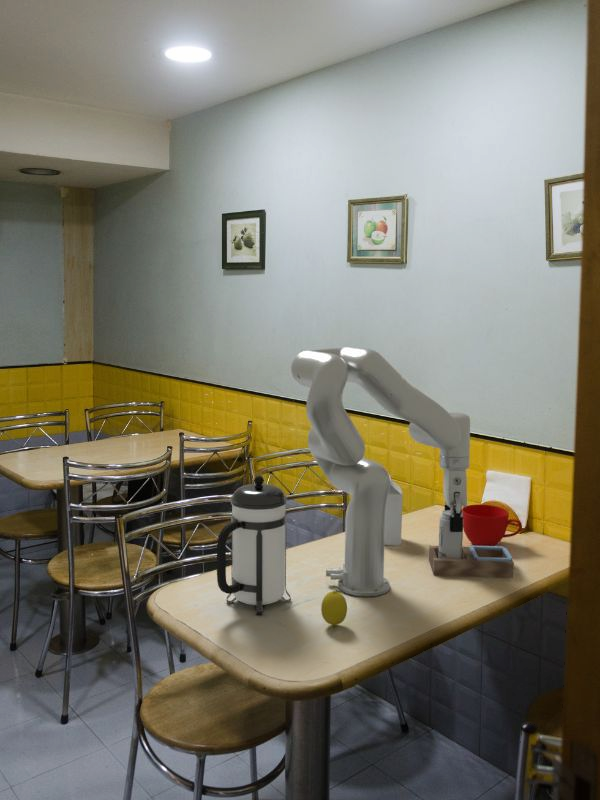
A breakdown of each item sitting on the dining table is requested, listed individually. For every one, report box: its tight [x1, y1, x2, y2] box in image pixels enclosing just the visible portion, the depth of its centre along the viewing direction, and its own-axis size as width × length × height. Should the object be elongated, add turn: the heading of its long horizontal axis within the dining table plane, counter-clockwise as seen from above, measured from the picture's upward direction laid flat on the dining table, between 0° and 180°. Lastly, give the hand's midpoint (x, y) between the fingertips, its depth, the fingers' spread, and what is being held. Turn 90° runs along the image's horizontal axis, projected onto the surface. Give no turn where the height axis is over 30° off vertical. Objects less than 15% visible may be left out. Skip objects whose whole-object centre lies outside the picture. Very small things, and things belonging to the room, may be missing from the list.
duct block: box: [428, 545, 515, 579], centre depth 192 cm, size 20×11×5 cm, turn 87°
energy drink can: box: [438, 509, 464, 559], centre depth 192 cm, size 6×6×15 cm
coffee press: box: [216, 475, 292, 616], centre depth 167 cm, size 17×16×30 cm
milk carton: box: [384, 474, 403, 547], centre depth 212 cm, size 7×7×19 cm
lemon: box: [320, 590, 348, 627], centre depth 158 cm, size 6×6×8 cm
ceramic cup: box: [462, 504, 523, 546], centre depth 210 cm, size 13×17×10 cm
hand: (453, 525), depth 192 cm, fingers open, 9 cm apart
